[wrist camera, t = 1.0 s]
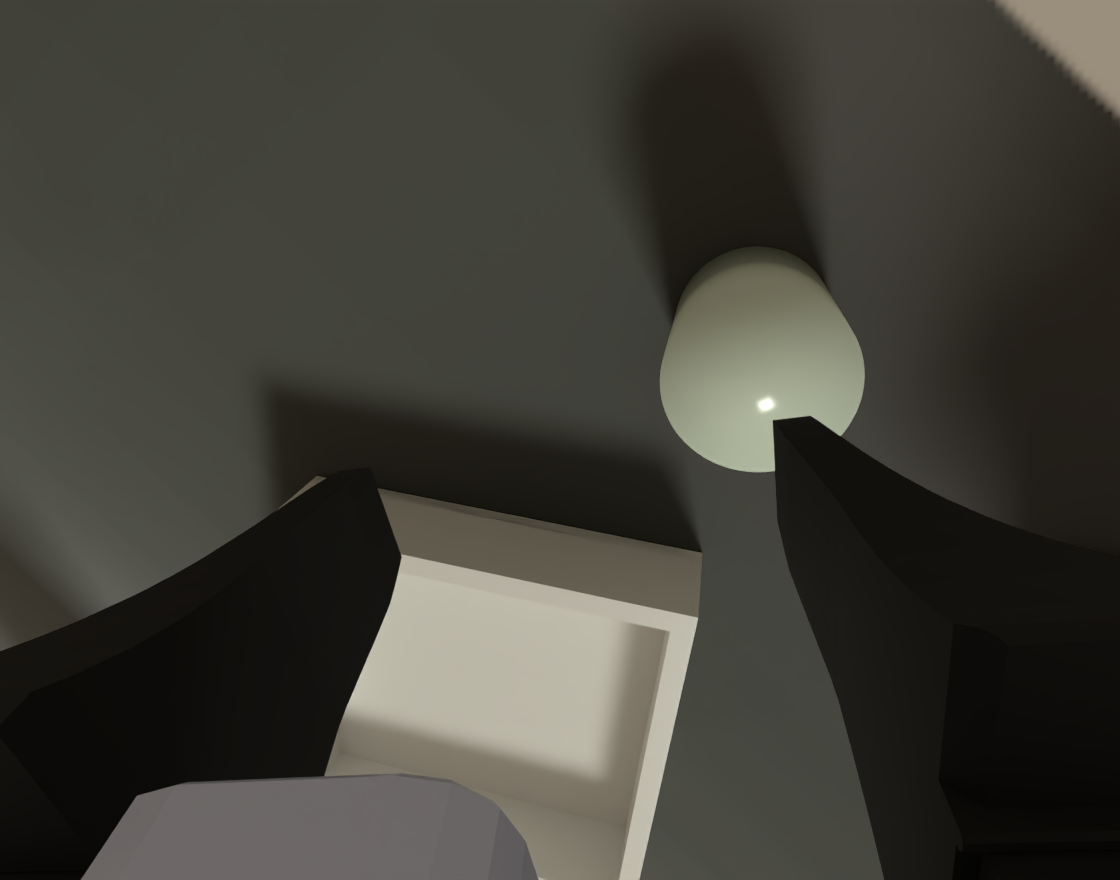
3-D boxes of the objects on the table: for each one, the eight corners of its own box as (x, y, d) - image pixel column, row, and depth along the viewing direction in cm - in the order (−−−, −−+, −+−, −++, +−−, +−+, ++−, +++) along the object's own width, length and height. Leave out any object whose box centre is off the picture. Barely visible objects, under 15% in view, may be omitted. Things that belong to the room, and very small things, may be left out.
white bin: (702, 553, 27) (698, 617, 24) (641, 832, 34) (631, 915, 30) (316, 476, 30) (260, 524, 26) (331, 750, 36) (288, 819, 33)
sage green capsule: (850, 258, 22) (890, 301, 17) (811, 406, 24) (835, 487, 19) (688, 236, 23) (677, 270, 17) (664, 382, 25) (646, 453, 19)
